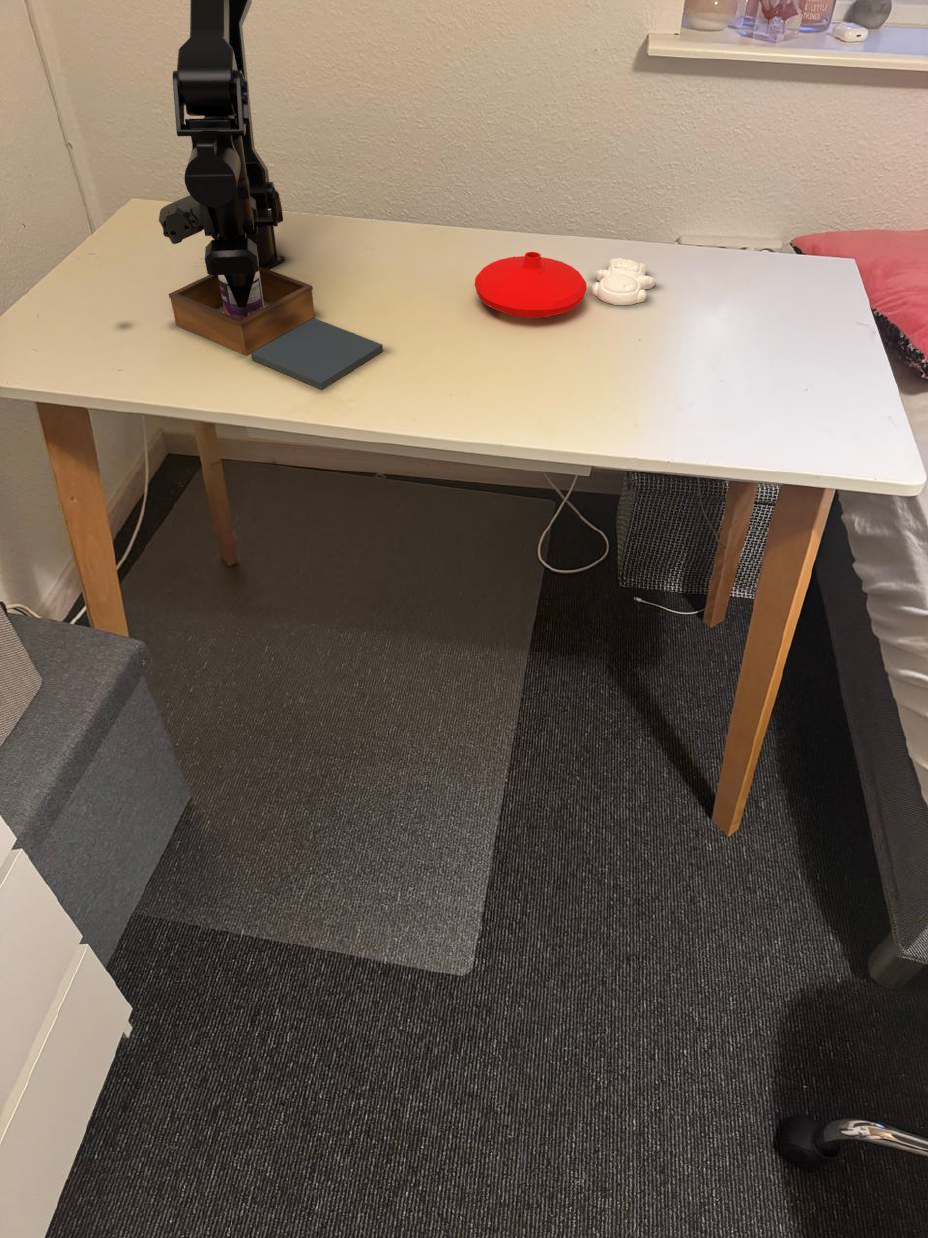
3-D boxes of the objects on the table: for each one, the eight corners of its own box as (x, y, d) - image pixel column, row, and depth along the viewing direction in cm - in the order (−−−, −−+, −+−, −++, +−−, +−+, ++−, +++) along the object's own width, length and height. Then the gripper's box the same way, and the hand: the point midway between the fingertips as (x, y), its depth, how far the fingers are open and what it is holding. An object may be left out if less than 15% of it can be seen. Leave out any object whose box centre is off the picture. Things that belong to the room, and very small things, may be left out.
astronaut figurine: (661, 276, 140) (665, 256, 138) (638, 310, 132) (642, 289, 130) (605, 265, 143) (608, 245, 141) (580, 297, 135) (582, 277, 133)
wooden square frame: (246, 289, 135) (241, 259, 132) (315, 316, 130) (312, 285, 126) (175, 325, 127) (168, 293, 124) (246, 355, 122) (241, 323, 119)
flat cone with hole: (455, 314, 131) (455, 265, 126) (500, 270, 141) (503, 223, 136) (560, 340, 126) (565, 290, 121) (600, 292, 136) (606, 244, 131)
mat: (314, 324, 128) (313, 317, 127) (383, 351, 123) (382, 344, 122) (251, 359, 121) (250, 352, 120) (321, 389, 116) (320, 382, 115)
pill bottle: (228, 312, 130) (216, 242, 123) (267, 311, 130) (257, 241, 124) (224, 331, 126) (211, 260, 119) (264, 330, 127) (254, 259, 120)
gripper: (160, 151, 120) (183, 269, 131) (150, 208, 107) (177, 334, 118) (248, 147, 122) (264, 265, 133) (249, 203, 109) (266, 328, 120)
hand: (242, 296), depth 126 cm, fingers closed on pill bottle, 5 cm apart
